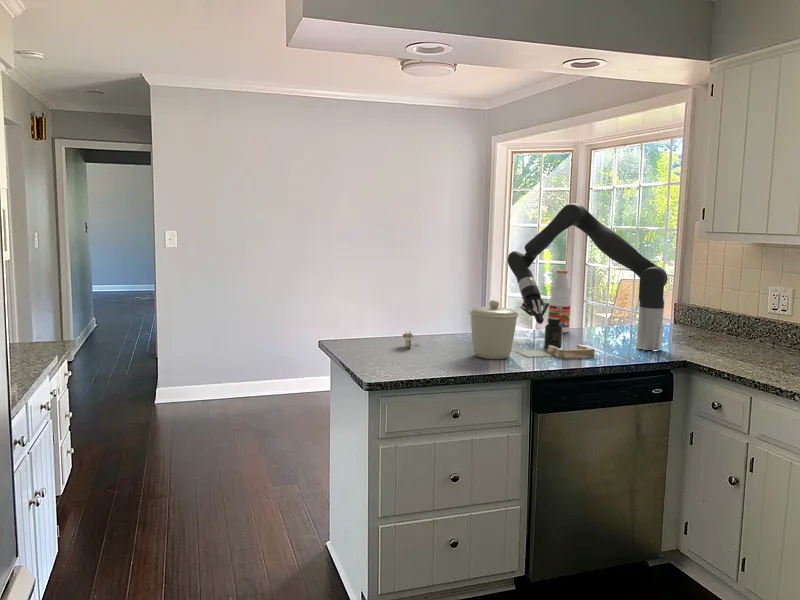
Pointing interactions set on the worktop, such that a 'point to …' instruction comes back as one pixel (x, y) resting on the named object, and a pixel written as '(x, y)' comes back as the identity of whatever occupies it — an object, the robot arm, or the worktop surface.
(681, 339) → the worktop surface
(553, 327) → the supplement bottle
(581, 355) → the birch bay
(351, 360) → the worktop surface
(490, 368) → the worktop surface
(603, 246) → the robot arm
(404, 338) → the yellow figurine
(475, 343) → the canister
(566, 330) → the fruit juice
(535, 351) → the sage tile
